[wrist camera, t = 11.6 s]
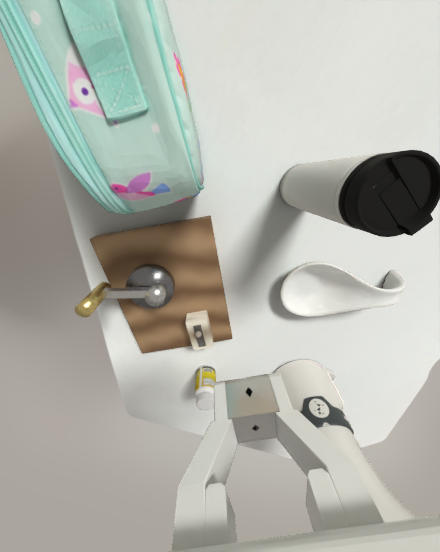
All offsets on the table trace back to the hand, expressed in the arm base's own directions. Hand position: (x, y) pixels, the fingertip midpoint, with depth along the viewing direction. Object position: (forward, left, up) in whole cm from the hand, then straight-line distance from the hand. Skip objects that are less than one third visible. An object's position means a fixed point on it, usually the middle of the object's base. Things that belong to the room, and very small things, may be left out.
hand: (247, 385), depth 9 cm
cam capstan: (-6, +16, -27) cm, 32 cm away
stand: (-10, +11, -29) cm, 33 cm away
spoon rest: (-14, -21, -30) cm, 39 cm away
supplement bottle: (-34, +9, -29) cm, 46 cm away
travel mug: (+5, -14, -29) cm, 33 cm away
